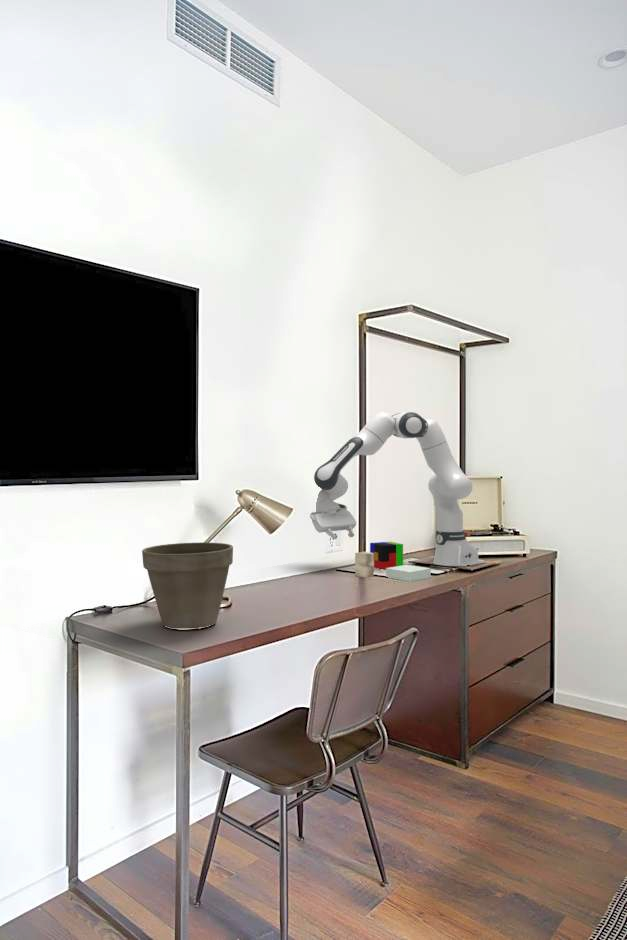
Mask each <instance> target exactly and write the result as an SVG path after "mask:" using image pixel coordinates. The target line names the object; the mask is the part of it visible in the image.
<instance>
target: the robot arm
mask: <svg viewBox="0 0 627 940" xmlns="http://www.w3.org/2000/svg"><path fill="white" fill-rule="evenodd" d="M391 436H395V437H397V438H402V439H416V440H417V441H418V443H419V445H420V449H421V452H422V453H423V457H424V460H425V462H426V464H427V466H428V467H429V468H430V470H432V471H433V473H434V475H433V476H432V477H430V479H429V480H428V490H429V492H430V494H431V495H432V498H433V503H434V507H435V513H436V530H435V540H436V543H435V551H434V556H433V557H434V558H433V562H432V564H434V565H438V566H443V567H444V566H445V567H468V566H467V565H470V566H475V565H479V564H484V562H485V561H484V560H483V559H480V558H479V553H478V549H477V548H476V547H475V546H474V545H473V544H472V543H471V542H469V540H467V537H470V536H471V532H470V531H464V514H463V511H462V509H461V507H460V505H459V501H458V500H462V499H465V498H467V497H469V496H470V495H471V493H472V491H473V482H472V481H471V479H470V478H469V477H468V476H467V475H466V474H465V473H464V472H463V470H462V468H461V467H460V466H459V464H458V463H457V461H456V459H455V458H454V456H453V454H452V452H451V449H450V446H449V443H448V441H447V439H446V436H445V433H444V432H443V430H442V427H441V426H440V424H439V423H438V422H437V421H436V420H435V419H433V418H432V419H431V418H429V419H428V418H427V419H425V418H424V417H422V415H420V414H419V413H416V412H413V411H402V412H399V413H394V414H393V415H391V414H390V413H387V412H385V411H380V412H378V413H377V414H375V415H373V417H372V418H371V419H369V420H368V422H366V424H365V425H364V426H363V428H362V429H361V430H360V431H359V432H358V433H357V434H356V435H355V436H353V437H351V438H350V439H349V440H347V441H346V443H345V444H343V446H342V447H341V448H340V449H338V450H337V452H336V453H335V454H334V455H333V456H331V458H330V459H329V460H328V461H326V462H325V463H323V464H321V465H320V466H318V468H317V469H316V470H315V473H314V475H313V478H314V481H315V483H316V485H317V486H318V487H320V488H321V489H322V490H321V491H320V492H319V494H318V498H317V502H316V512H315V511H314V512H312V511H311V513H310V515H309V518H310V519H311V522H312V524H313V526H314V528H315V531H316V532H317V533H320V534H321V533H326V535H327V536H329V537H331V539H332V540H337V538H338V535H337V534H336V533H334V532H337V531H347V532H348V534H347V535H348V537H349V538H353V537H354V536H355V533H354V531H353V529H354V528H355V527H356V526H357V521H356V520H357V519H355V517H354V516H353V515H352V513H351V511H349V510H348V507H347V505H345V504H341V503H338V502H335V500H337V499H339V498H341V497H343V496H344V495H345V494H346V493H347V491H348V488H349V484H348V480H347V479H346V478H345V477H344V476H343V475H342V474H341V472H342V470H343V469H344V468H345V467H346V466H347V465H348V463H350V462H351V460H353V459H354V458H355V457H357V456H373V455H375V454H376V453H377V452H379V450H381V448H382V447H383V446H384V444H385V443H386V442H387V441H388V440H389V438H390V437H391Z"/></svg>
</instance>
